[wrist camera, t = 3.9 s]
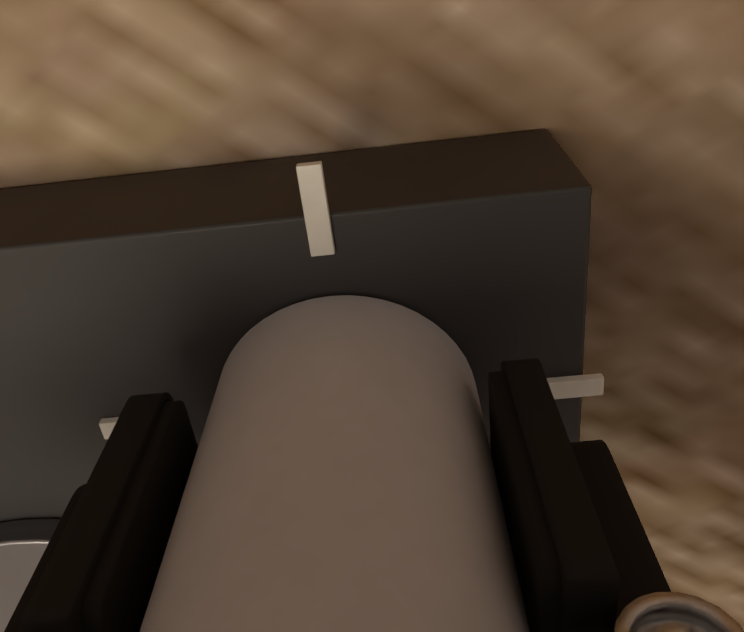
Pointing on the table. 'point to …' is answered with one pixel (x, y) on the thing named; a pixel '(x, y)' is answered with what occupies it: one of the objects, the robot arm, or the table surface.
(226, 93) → the table surface
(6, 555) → the burner
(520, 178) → the hob
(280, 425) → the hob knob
